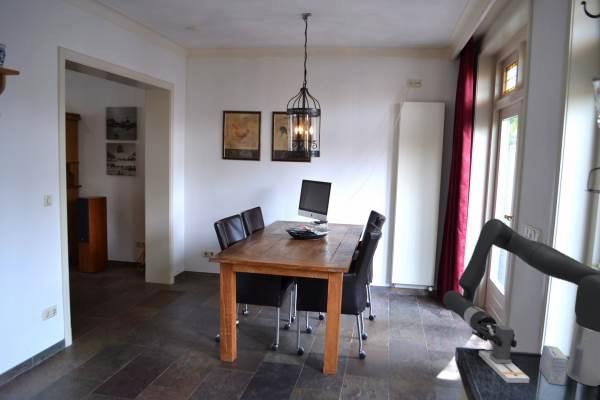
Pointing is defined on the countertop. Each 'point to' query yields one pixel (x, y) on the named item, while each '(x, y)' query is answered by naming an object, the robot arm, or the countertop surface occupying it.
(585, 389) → the countertop surface
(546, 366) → the medicine box
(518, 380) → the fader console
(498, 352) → the fader tab
